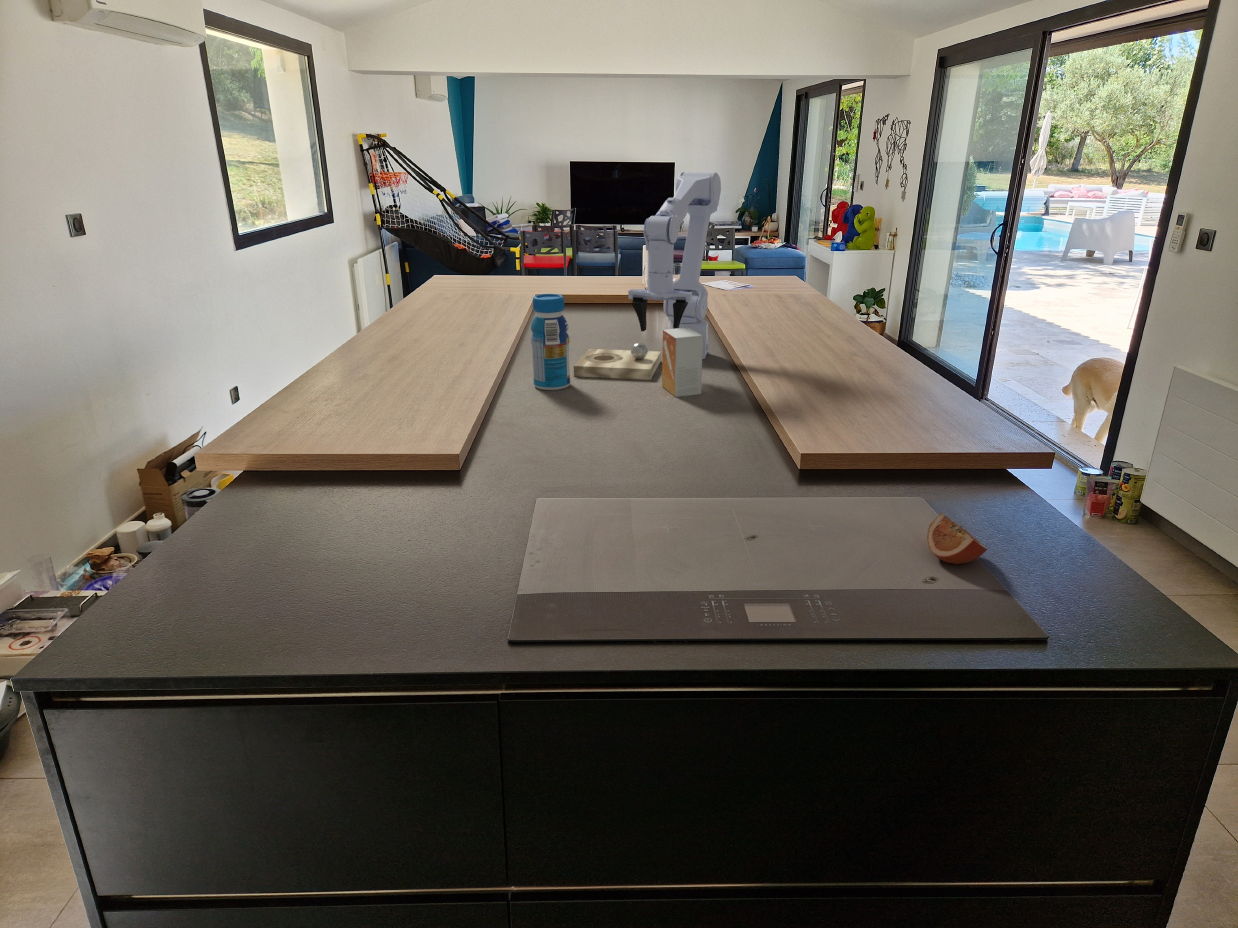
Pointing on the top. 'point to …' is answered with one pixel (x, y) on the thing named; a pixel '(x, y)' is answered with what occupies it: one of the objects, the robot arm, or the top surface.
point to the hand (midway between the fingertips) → (659, 331)
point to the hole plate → (616, 364)
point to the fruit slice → (952, 541)
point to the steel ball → (639, 351)
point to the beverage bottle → (550, 343)
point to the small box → (682, 361)
